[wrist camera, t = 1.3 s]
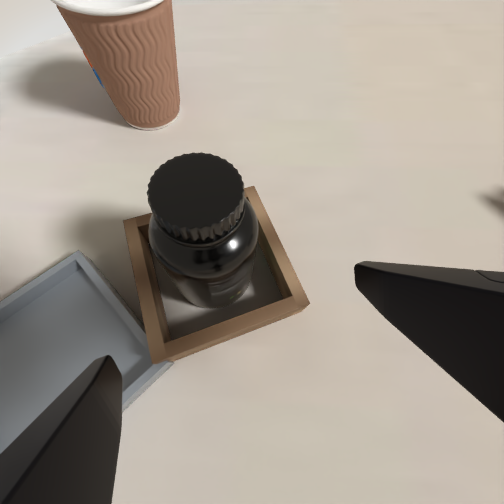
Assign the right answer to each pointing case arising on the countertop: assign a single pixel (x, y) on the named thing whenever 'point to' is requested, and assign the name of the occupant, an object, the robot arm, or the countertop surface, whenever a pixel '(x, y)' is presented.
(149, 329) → the slot holder
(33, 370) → the tray
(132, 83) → the coffee cup
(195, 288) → the supplement bottle
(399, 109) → the countertop surface
